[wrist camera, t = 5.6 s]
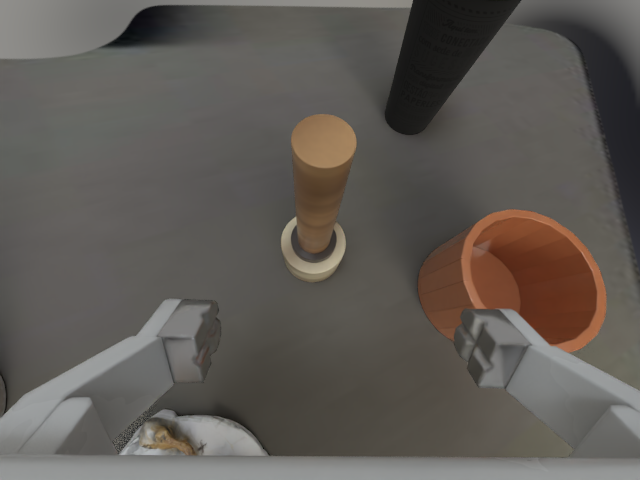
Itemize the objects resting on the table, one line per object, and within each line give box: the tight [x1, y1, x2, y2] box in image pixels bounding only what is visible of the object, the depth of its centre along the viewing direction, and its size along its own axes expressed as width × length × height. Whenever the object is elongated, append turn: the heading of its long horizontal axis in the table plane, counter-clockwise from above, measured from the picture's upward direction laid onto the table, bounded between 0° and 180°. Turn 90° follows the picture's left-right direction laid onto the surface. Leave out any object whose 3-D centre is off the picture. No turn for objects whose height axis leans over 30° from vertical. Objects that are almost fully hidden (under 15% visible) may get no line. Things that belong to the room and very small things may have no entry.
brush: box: [281, 114, 357, 282], centre depth 17 cm, size 5×5×15 cm
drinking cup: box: [385, 0, 521, 135], centre depth 20 cm, size 8×8×20 cm
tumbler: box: [418, 209, 607, 353], centre depth 20 cm, size 9×9×7 cm
